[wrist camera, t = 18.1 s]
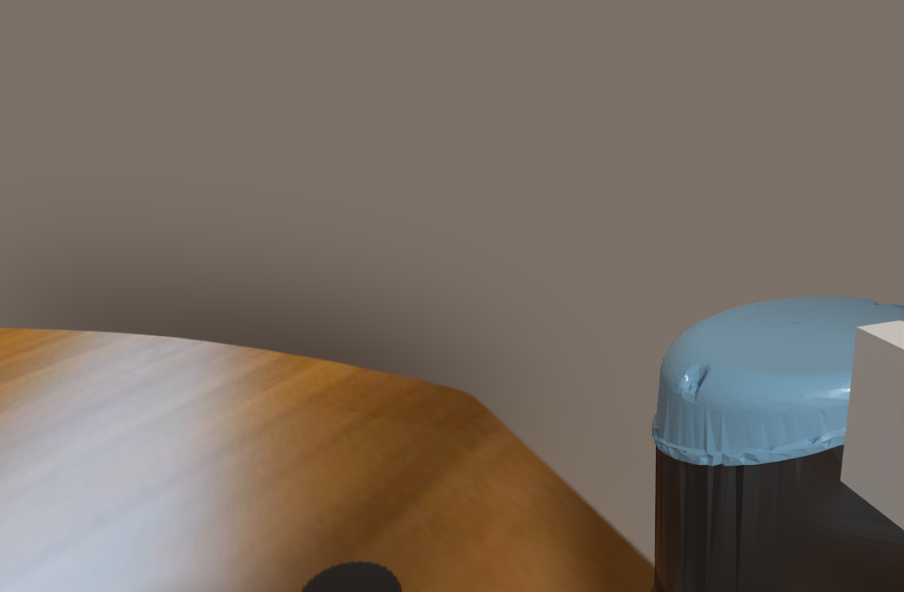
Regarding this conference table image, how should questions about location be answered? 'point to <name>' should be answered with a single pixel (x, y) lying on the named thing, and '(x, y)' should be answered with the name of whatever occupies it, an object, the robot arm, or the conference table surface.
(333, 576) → the supplement bottle
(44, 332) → the conference table surface
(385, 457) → the conference table surface
